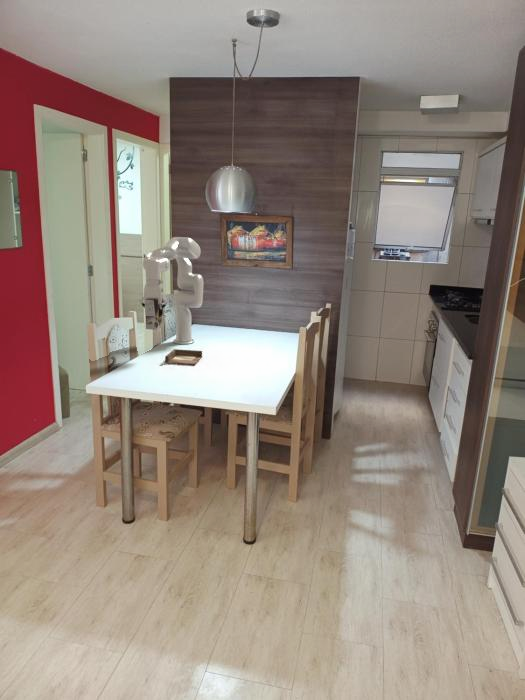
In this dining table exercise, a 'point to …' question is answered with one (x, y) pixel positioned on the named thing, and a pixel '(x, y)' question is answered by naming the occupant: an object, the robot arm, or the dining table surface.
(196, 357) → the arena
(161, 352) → the dining table surface
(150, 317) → the coffee box
